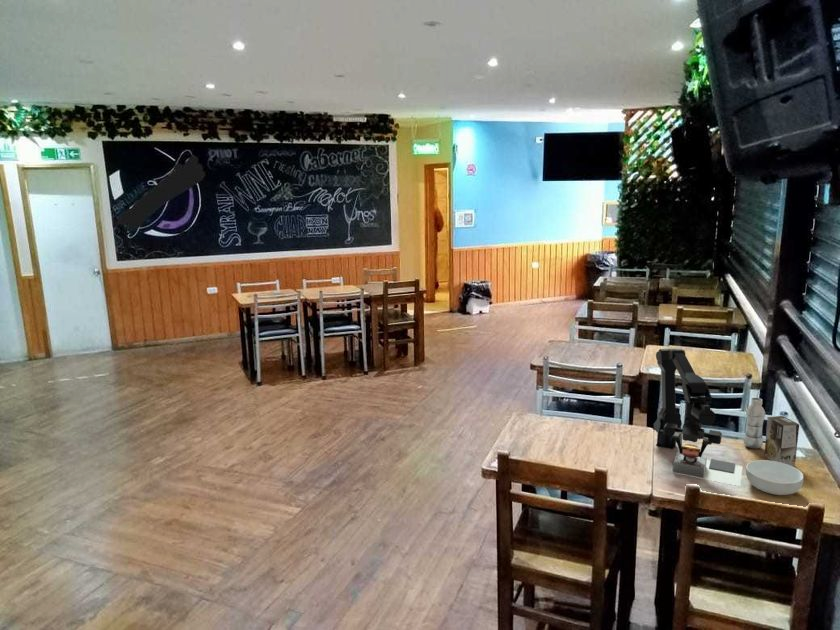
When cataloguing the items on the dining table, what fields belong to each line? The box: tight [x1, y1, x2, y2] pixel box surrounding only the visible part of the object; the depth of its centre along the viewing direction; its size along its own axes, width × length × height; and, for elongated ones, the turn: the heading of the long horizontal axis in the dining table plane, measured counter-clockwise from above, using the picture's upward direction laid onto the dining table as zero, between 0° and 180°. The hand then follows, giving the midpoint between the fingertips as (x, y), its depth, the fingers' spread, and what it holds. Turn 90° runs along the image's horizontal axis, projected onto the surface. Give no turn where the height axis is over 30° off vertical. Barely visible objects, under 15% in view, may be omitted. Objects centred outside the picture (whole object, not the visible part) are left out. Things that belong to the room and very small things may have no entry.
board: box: [673, 459, 744, 487], centre depth 212 cm, size 21×17×1 cm
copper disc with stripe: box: [682, 443, 701, 463], centre depth 212 cm, size 6×6×9 cm
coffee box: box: [764, 415, 800, 467], centre depth 217 cm, size 9×6×16 cm
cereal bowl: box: [745, 459, 804, 496], centre depth 197 cm, size 17×17×7 cm
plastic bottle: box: [743, 397, 766, 450], centre depth 229 cm, size 6×7×20 cm
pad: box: [709, 458, 736, 473], centre depth 214 cm, size 8×8×1 cm
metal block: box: [672, 450, 708, 479], centre depth 212 cm, size 10×10×4 cm
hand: (690, 455), depth 211 cm, fingers closed on copper disc with stripe, 6 cm apart
